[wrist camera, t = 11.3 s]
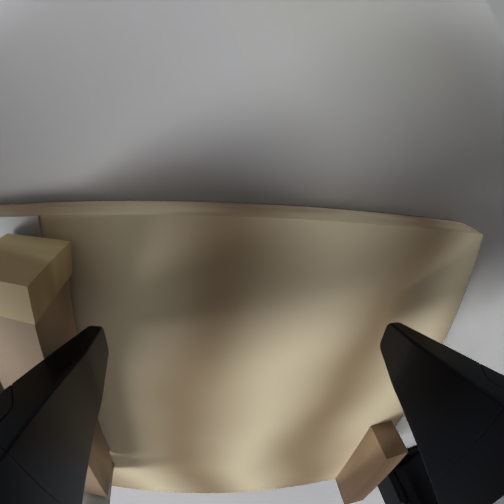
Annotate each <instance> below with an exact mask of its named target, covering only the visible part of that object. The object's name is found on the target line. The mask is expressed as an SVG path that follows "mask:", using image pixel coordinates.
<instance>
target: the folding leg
mask: <svg viewBox="0 0 504 504" xmlns="http://www.w3.org/2000/svg"><path fill="white" fill-rule="evenodd" d="M72 273H73V271H72V258H71V241H66V240H58V239H50V238H42V237H34V236H26V235H18V234H10V233H7V234H5V235H4V236H3V237H1V238H0V382H1V384H2V386H3V388H4V390H5V389H6V388H7V387H8V386H10V385H11V386H12V383H14V382H15V381H16V380H17V379H19V378H20V377H21V376H23V375H24V374H25V373H26V372H28V371H29V370H30V369H32V368H33V367H34V366H36V365H37V364H38V363H40V362H41V361H42V360H44V359H45V358H46V357H48V356H49V355H50V354H51V353H53V352H54V351H55V350H57V349H58V348H60V347H61V346H62V345H64V344H65V343H66V342H68V341H69V340H70V339H72V338H73V337H74V336H76V335H77V331H76V325H75V319H74V313H73V306H72V299H71V291H70V283H69V277H70V276H71V274H72ZM111 467H112V457H111V455H110V452H109V449H108V447H107V444H106V441H105V438H104V435H103V432H102V429H101V426H100V423H99V420H98V419H97V424H96V428H95V433H94V438H93V443H92V448H91V453H90V458H89V464H88V469H87V475H86V481H85V488H84V492H87V493H91V494H95V495H100V496H104V497H108V489H109V481H110V474H111Z"/></svg>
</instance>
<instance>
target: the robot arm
mask: <svg viewBox="0 0 504 504" xmlns="http://www.w3.org/2000/svg"><path fill="white" fill-rule="evenodd" d="M380 350H381V353H382V356H383V359H384V362H385V365H386V368H387V371H388V374H389V377H390V380H391V383H392V386H393V388H394V390H395V393H396V395H397V397H398V400H399V402H400V404H401V407H402V409H403V411H404V414H405V416H406V419H407V421H408V423H409V426H410V428H411V431H412V433H413V436H414V438H415V441H416V443H417V446H418V447H417V448H414V449H411V450H409V451H408V453H407V454H406V455H405V456H404V458H403V459H402V460H401V461H400V462H399V463H398V464H397V465H396V467H395V468H394V469H393V470H392V471H391V472H390V473H389V474H388V475H387V476H386V477H385V478H384V479H383V480H382V481H381V482H380V484H379V485H378V488H379V490H380V492H381V495H382V497H383V499H384V502H385V504H504V375H502V374H500V373H498V372H496V371H494V370H492V369H490V368H488V367H486V366H484V365H482V364H479V363H478V362H476V361H474V360H472V359H470V358H468V357H466V356H464V355H462V354H460V353H458V352H457V351H455V350H453V349H451V348H449V347H447V346H445V345H443V344H441V343H439V342H437V341H435V340H433V339H431V338H429V337H427V336H425V335H423V334H422V333H420V332H418V331H416V330H414V329H412V328H410V327H408V326H406V325H404V324H402V323H400V322H394V323H389V324H388V325H387V326H386V329H385V331H384V334H383V337H382V339H381V342H380ZM108 355H109V350H108V345H107V341H106V336H105V332H104V329H103V328H102V327H101V326H92V325H91V326H88V327H87V328H85V329H84V330H83V331H81V332H80V333H78V334H77V335H76V336H74V337H73V338H72V339H70V340H69V341H68V342H66V343H65V344H64V345H62V346H61V347H60V348H58V349H57V350H55V351H54V352H53V353H51V354H50V355H49V356H48V357H46V358H45V359H44V360H42V361H41V362H40V363H38V364H37V365H36V366H34V367H33V368H32V369H30V370H29V371H28V372H26V373H25V374H24V375H23V376H21V377H20V378H19V379H17V380H16V381H15V382H14V383H12V386H11V385H10V386H8V387H7V388H6V389H5V390H3V391H2V392H1V393H0V504H82V502H83V495H84V488H85V481H86V475H87V469H88V464H89V458H90V453H91V448H92V443H93V438H94V433H95V428H96V424H97V419H98V415H99V411H100V407H101V402H102V397H103V390H104V383H105V375H106V368H107V362H108Z"/></svg>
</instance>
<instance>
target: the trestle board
mask: <svg viewBox="0 0 504 504" xmlns="http://www.w3.org/2000/svg"><path fill="white" fill-rule="evenodd" d="M7 233H10V234H18V235H26V236H34V237H42V238H50V239H58V240H66V241H71V258H72V271H73V273H72V274H71V276H70V277H69V283H70V291H71V299H72V306H73V313H74V319H75V325H76V331H77V334H78V333H80V332H81V331H83V330H84V329H85V328H87V327H88V326H91V325H92V326H101V327H102V328H103V329H104V332H105V336H106V341H107V345H108V350H109V355H108V362H107V368H106V375H105V383H104V390H103V397H102V402H101V407H100V411H99V415H98V420H99V423H100V426H101V429H102V432H103V435H104V438H105V441H106V444H107V447H108V449H109V452H110V455H111V457H112V467H111V474H110V481H109V489H108V497H104V496H100V495H95V494H91V493H87V492H84V495H83V502H82V504H110V495H111V486H118V487H125V488H132V489H141V490H150V491H163V492H180V493H229V492H246V491H259V490H269V489H277V488H285V487H292V486H298V485H304V484H310V483H315V482H321V481H325V480H330V479H336V482H337V485H338V488H339V490H340V493H341V496H342V499H343V502H344V504H350V503H353V502H357V501H360V500H363V499H364V498H365V497H366V496H367V495H368V494H369V493H370V492H371V491H373V490H374V489H375V488H376V487H377V486H378V485H379V484H380V482H381V481H382V480H383V479H384V478H385V477H386V476H387V475H388V474H389V473H390V472H391V471H392V470H393V469H394V468H395V467H396V465H397V464H398V463H399V462H400V461H401V460H402V459H403V458H404V456H405V455H406V454H407V453H408V450H407V448H406V447H405V445H404V443H403V441H402V439H401V437H400V435H399V434H398V432H397V430H396V428H395V426H396V425H397V423H398V422H399V420H400V419H401V417H402V416H403V414H404V411H403V409H402V407H401V404H400V402H399V400H398V397H397V395H396V393H395V390H394V388H393V386H392V383H391V380H390V377H389V374H388V371H387V368H386V365H385V362H384V359H383V356H382V353H381V350H380V342H381V339H382V337H383V334H384V331H385V329H386V326H387V325H388V324H389V323H394V322H400V323H402V324H404V325H406V326H408V327H410V328H412V329H414V330H416V331H418V332H420V333H422V334H423V335H425V336H427V337H429V338H431V339H433V340H435V341H437V342H439V343H441V344H443V342H444V340H445V338H446V336H447V334H448V331H449V329H450V327H451V325H452V323H453V320H454V318H455V316H456V313H457V311H458V308H459V306H460V303H461V301H462V298H463V296H464V293H465V291H466V288H467V285H468V282H469V280H470V277H471V274H472V271H473V268H474V265H475V262H476V259H477V256H478V252H479V249H480V246H481V242H482V239H483V235H484V234H482V233H480V232H479V231H477V230H475V229H473V228H471V227H469V226H468V225H466V224H464V223H462V222H456V221H449V220H441V219H432V218H424V217H415V216H406V215H397V214H387V213H377V212H366V211H355V210H343V209H330V208H317V207H302V206H286V205H268V204H248V203H223V202H189V201H76V202H45V203H22V204H5V205H0V238H1V237H3V236H4V235H5V234H7ZM3 390H4V388H3V386H2V384H1V382H0V393H1V392H2V391H3Z"/></svg>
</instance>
